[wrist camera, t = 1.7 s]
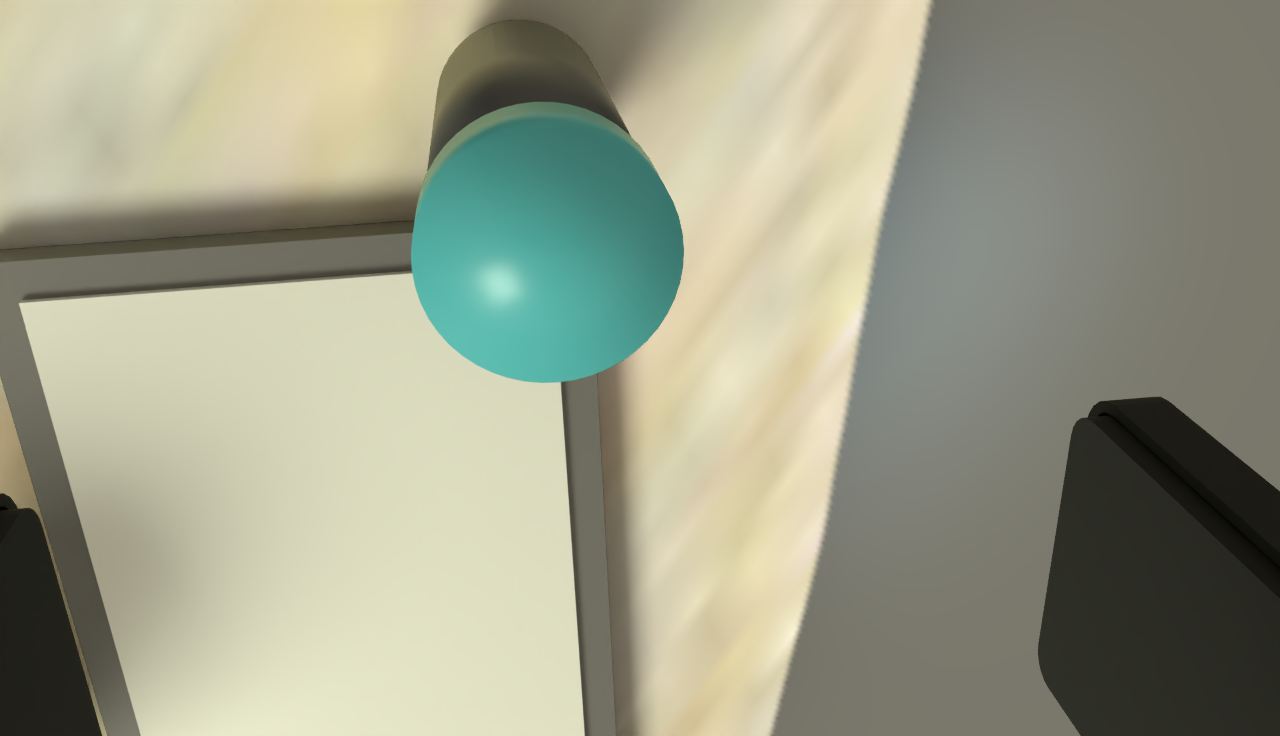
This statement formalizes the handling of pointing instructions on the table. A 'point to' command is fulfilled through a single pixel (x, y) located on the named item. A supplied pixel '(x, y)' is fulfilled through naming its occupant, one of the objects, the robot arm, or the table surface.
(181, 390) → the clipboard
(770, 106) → the table surface
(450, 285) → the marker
